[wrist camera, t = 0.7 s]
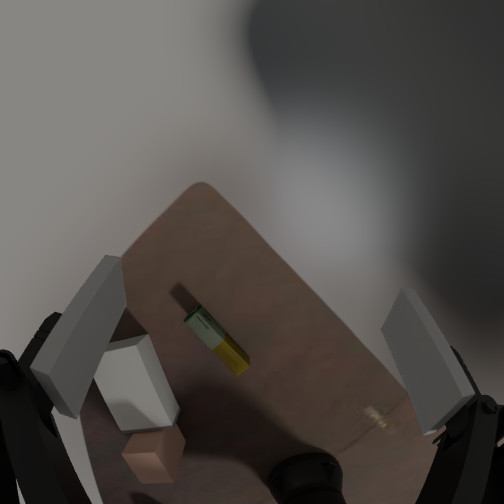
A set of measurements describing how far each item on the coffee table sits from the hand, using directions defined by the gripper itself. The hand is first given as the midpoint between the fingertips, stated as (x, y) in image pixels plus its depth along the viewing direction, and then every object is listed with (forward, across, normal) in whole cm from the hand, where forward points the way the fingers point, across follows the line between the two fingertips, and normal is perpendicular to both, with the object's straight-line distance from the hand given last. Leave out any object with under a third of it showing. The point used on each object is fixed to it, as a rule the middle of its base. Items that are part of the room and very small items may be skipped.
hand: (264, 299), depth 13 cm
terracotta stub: (+13, +11, +44) cm, 47 cm away
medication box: (+23, +2, +26) cm, 35 cm away
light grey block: (+18, +15, +35) cm, 42 cm away
